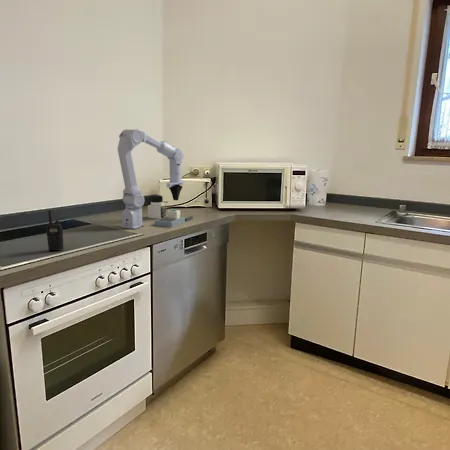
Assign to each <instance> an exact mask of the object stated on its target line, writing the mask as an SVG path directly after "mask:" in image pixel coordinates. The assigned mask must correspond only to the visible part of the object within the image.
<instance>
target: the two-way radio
mask: <svg viewBox="0 0 450 450" xmlns="http://www.w3.org/2000/svg"><path fill="white" fill-rule="evenodd" d="M45 230H46V238H47V248H48V251H49V250H59V249H63V250H64V231H63V226H62V224H61V223H60V222H59V219H55V221H54V223H53V220H52V211H51V210H50V209H49V210H48V224H47V225H46V229H45Z"/></svg>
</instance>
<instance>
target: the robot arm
mask: <svg viewBox="0 0 450 450" xmlns="http://www.w3.org/2000/svg"><path fill="white" fill-rule="evenodd" d="M118 137H119V138H118V139H119V141H118V145H117V154H118V158H119V162H120V169H121V174H122V177H123V178H122V179H123V183H124V189H123V190H122V202H123V203H124V205H125V209H124V210H123V211H121V226H120V228H125V229H133V230H135V229H139V228H141V227H144V225H143V206H144V204H145V197H144V195H143V193H142V191H141V189H140V187H139V186H138V183H137V179H136V172H135V171H136V170H135V167H134V162H133V156H132V152H133V150H134V149H135V147H137V146H139V145H140V144H141V143H145V144H146V145H149V146H151V147H153V148H155V149H156V152H157V153H160V154H161V155H163V156H165V157H167V159H168V160H169V161H168V163H169V182H166V188H168V189H169V190H170V193H171V197H172V200H173V201H179V199H180V193H181V191H182V189H183V185H185V180H182V162H183V159H184V153H183V151H182V149H180V148H176V147H175V146H174V145H171V144H169V142H168V141H166V140H164V141H163V140H161V141H159V140H157V139H156V138H154V137H152V136H151V135H149V134H148V133H146V132H145V131H143V130H141V129H137V128H135V129H127V128H125V129H124V130H122V131H121V132H120V133H119V134H118Z"/></svg>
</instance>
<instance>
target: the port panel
mask: <svg viewBox="0 0 450 450" xmlns="http://www.w3.org/2000/svg"><path fill="white" fill-rule="evenodd" d="M185 218H186V217H185V216H181V217H180V218H179V219H169V218H168V216H167V215H166V216H165V217H163V218H161V219H158V218H157V219H155V220H154V226H155V227H157V226H158V227H159V228H160V229H161V228H162V227H164V228H168V229H171V228H173V227H175V226H178V225H181V224H183V223H185V222H186V221H185Z"/></svg>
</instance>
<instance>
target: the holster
mask: <svg viewBox="0 0 450 450" xmlns="http://www.w3.org/2000/svg"><path fill="white" fill-rule="evenodd" d="M180 217H182V215H181V214H180ZM193 219H194V216H193V215H191V216H187V217H185V222H189V221H192V220H193Z"/></svg>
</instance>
